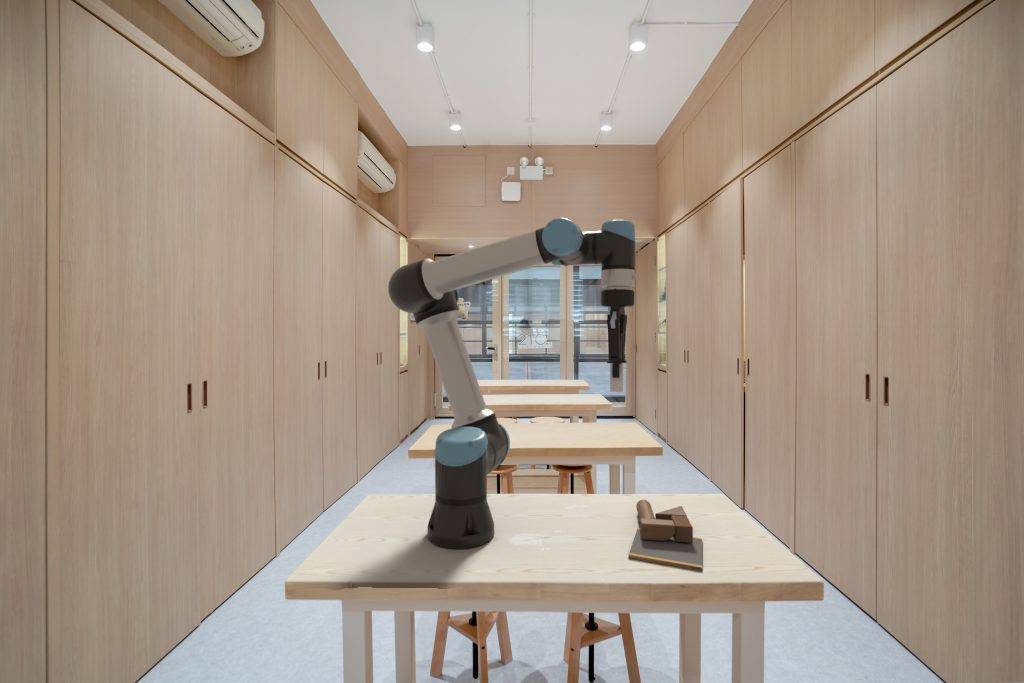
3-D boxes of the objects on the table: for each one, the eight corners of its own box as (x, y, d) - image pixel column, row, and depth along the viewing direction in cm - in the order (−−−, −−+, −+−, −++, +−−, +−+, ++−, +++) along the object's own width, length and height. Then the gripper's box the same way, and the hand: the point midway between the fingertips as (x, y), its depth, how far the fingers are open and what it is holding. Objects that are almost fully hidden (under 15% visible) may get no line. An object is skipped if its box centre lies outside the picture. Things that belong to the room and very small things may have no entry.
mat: (628, 557, 100) (628, 554, 100) (637, 531, 113) (637, 528, 113) (701, 570, 94) (701, 567, 94) (702, 541, 107) (702, 538, 107)
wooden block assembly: (693, 526, 104) (679, 500, 122) (641, 523, 106) (635, 498, 124) (693, 544, 104) (679, 515, 122) (641, 540, 106) (635, 512, 124)
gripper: (630, 286, 104) (628, 396, 105) (638, 290, 116) (636, 389, 117) (595, 287, 107) (594, 394, 108) (606, 291, 119) (605, 387, 120)
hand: (616, 391), depth 112 cm, fingers closed
